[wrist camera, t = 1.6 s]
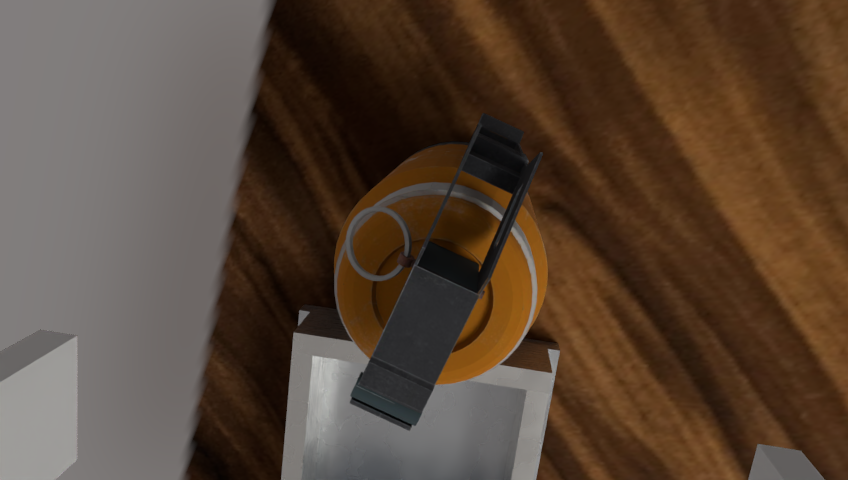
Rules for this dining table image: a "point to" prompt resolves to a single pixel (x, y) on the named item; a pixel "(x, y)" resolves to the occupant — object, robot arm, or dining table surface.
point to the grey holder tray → (437, 427)
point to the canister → (441, 270)
